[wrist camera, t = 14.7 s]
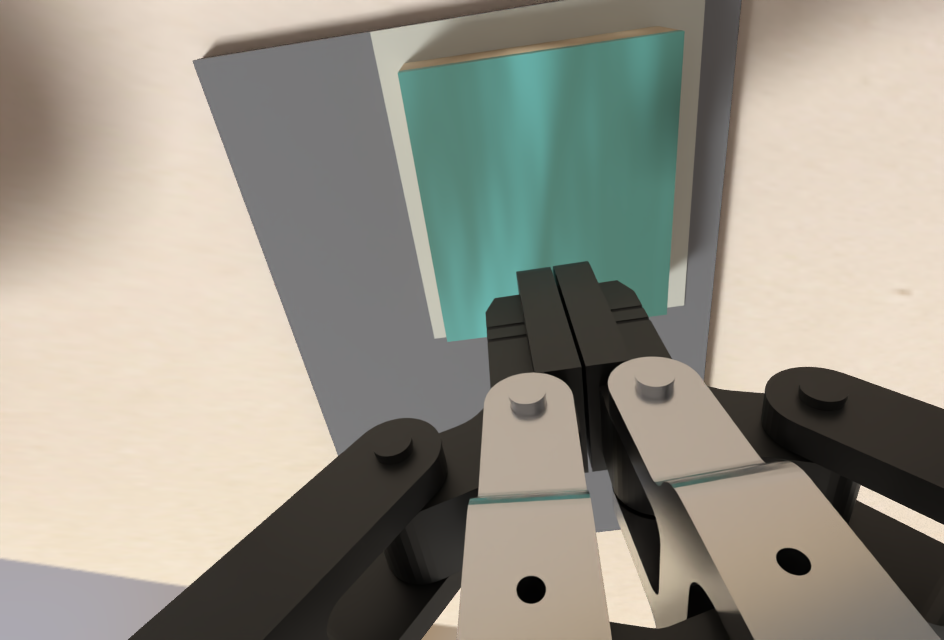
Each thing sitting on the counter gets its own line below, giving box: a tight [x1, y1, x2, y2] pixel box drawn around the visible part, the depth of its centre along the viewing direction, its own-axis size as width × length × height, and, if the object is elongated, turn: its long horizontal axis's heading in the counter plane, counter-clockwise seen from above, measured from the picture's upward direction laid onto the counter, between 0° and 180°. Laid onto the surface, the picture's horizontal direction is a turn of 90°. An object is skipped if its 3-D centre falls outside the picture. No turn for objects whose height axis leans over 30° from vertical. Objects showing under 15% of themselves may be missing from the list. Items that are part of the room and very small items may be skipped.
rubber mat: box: [193, 0, 741, 532], centre depth 21 cm, size 15×22×1 cm
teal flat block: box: [398, 26, 685, 342], centre depth 16 cm, size 2×8×7 cm
